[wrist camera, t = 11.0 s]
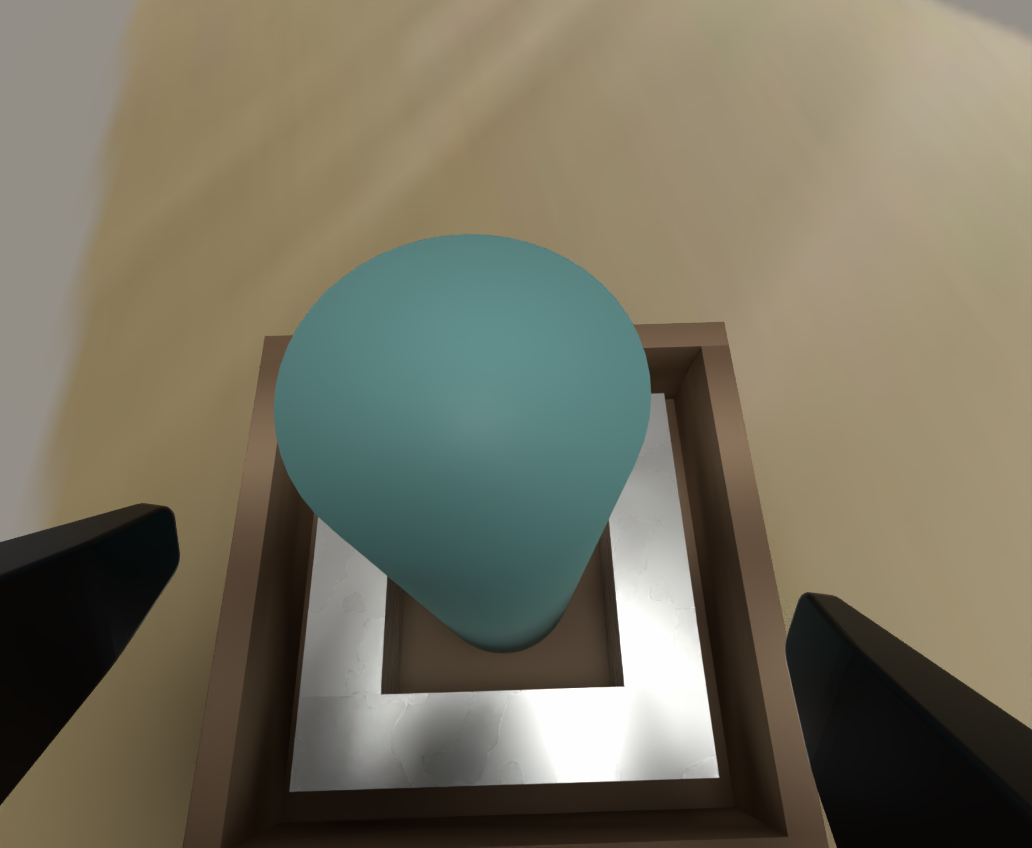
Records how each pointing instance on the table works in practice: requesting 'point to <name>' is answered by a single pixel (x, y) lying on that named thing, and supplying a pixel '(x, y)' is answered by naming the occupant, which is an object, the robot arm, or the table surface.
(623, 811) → the tray
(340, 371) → the peg
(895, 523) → the table surface
